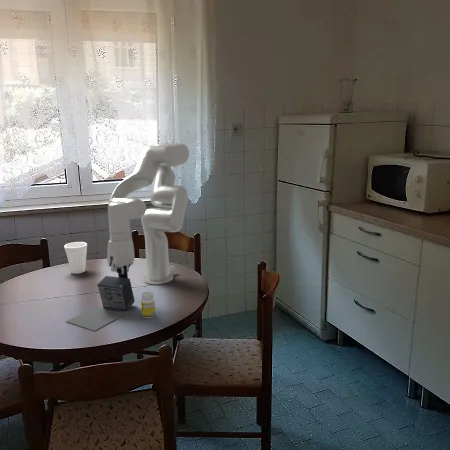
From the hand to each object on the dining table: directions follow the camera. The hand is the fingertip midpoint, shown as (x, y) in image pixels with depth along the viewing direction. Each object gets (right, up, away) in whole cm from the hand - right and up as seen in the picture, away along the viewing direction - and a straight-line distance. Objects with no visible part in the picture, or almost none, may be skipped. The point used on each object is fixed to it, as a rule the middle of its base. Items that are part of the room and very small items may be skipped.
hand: (123, 282), depth 166 cm
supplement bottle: (+11, -11, -8) cm, 18 cm away
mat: (-7, -11, -10) cm, 17 cm away
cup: (-29, 0, +38) cm, 48 cm away
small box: (-1, -8, 0) cm, 8 cm away
